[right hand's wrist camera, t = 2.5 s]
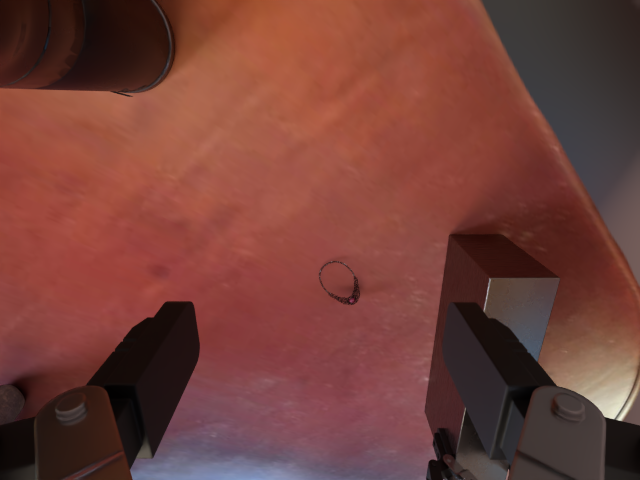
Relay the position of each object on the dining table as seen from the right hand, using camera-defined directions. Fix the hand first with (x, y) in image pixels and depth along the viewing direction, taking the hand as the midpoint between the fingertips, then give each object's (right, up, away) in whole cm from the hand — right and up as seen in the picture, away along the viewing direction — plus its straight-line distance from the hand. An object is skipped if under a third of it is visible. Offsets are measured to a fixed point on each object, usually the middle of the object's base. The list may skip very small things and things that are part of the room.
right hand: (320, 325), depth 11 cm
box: (+18, -9, +35) cm, 41 cm away
